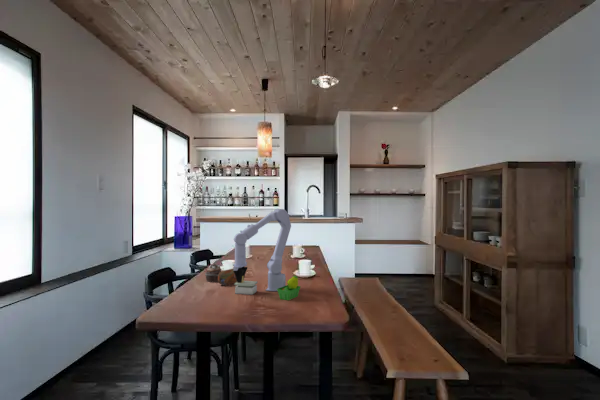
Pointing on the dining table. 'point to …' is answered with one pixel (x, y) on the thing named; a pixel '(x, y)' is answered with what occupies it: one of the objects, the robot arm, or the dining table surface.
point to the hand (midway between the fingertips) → (240, 281)
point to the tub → (246, 290)
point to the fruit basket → (289, 289)
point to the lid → (246, 283)
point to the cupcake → (213, 273)
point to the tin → (227, 277)
